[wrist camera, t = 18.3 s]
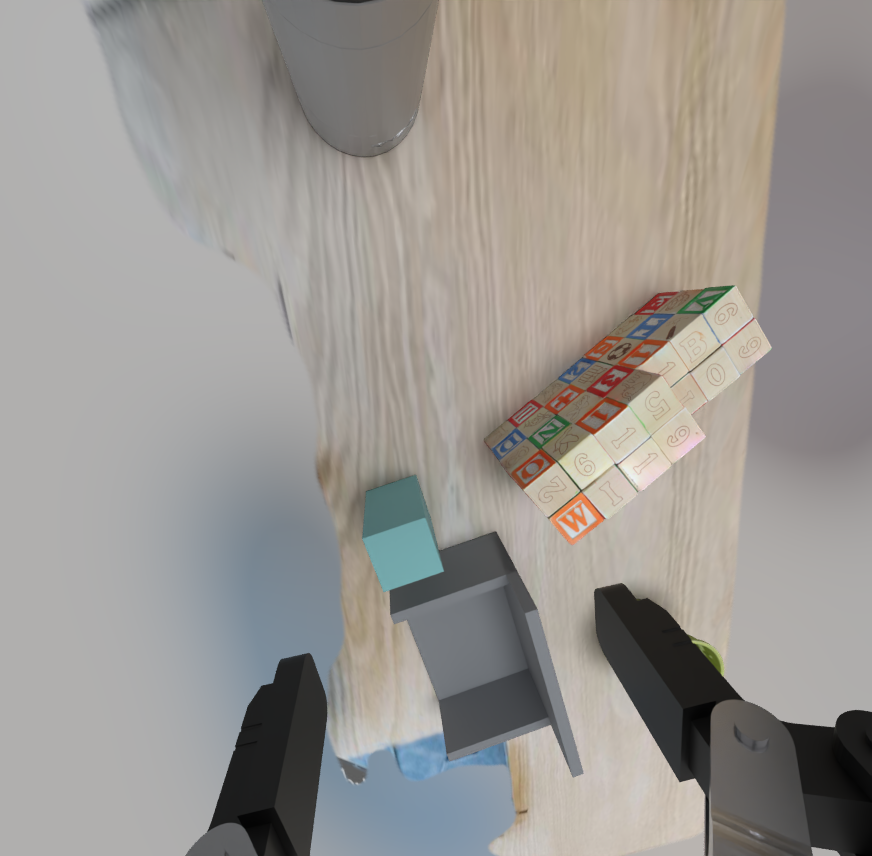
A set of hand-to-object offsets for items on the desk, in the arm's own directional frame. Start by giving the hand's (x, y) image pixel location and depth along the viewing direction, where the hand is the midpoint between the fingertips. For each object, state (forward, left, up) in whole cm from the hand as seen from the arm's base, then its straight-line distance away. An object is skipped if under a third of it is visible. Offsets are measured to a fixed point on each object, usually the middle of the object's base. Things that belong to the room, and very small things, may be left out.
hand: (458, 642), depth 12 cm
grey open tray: (+22, -9, -29) cm, 37 cm away
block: (+7, -6, -29) cm, 30 cm away
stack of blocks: (+9, +15, -29) cm, 34 cm away
